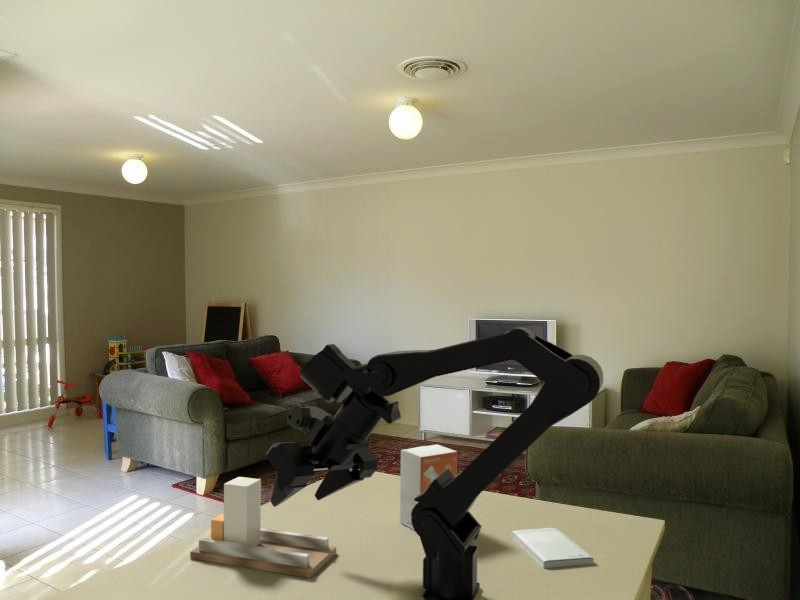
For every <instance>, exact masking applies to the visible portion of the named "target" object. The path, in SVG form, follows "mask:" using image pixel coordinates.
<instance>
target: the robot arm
mask: <svg viewBox="0 0 800 600" xmlns="http://www.w3.org/2000/svg"><path fill="white" fill-rule="evenodd" d="M507 361H515V362H517V363H518V364H520V365H521V366H522V367H523V368H525V369H526V370H527V371H529V372H530V373H531V374H533V376H534V377H536V378H537V379H539V380H540V381H542V382H544V383H543V385H542V386H541V387H540V389H539V391H538V392H537V394H536V396H535V397H534V398H533V399H532V401H531V402H530V405H529V406H528V407H527V408H526V409H525V410H523V412H522V413H521V414H519V416H518V417H516V419H515V420H514V421H513V422H511V423H510V425H509V426H507V427H506V428H505V429H504V430H503V431H502V432H501V434H499V435H498V436H497V437H496V438H495V439H494V440H493V441H492V442H491V443H490V444H488V446H486V448H485V449H484V450H483V451H481V452H480V453H479V455H478V456H476V457H475V459H474V460H473V461H472V462H471V463H469V464H468V465H467V466H466V467H465V468H464V469H463V470H462V471H460V472H457V475H455V476H453V475H452V473H451V472H450V470H449V469H446V470H445V471H444V472H443V473H442V474H440V475H439V476H438V477H437V478H436V479H434V481H433V482H432V483H431V484H430V486H429V487H427V488H426V489H425V490H424V491H423V492H422V493H420V494H419V495H418V496H417V497H416V498H415V499H414V500H415V501H417V502H418V503H417V504H416V505H415V506H414V508H413V509H412V512H411V522H412V525H413V528H414V530H413V531H415V533H416V535H417V536H419V540H420V541H421V542H420V543H421V545H422V548H423V551H424V554H425V556H424V557H423V559H422V589H423V590H425V591H424V592H423V594H422V600H475V599H476V597H477V595H478V592H479V590H480V585H481V583H480V582H478V546H476V545H473V544H474V542H475V541H476V540H477V539H478V537H479V534H480V532H481V529H482V525H481V523H480V522H478V520H477V519H476V518H475V517H474V516H473V515H472V513H471V512H470V510H471V508H472V507H473V505H474V504H475V502H476V500H477V499H478V497H479V496H480V494H481V493H482V492H483V491H485V489H487V487H488V486H489V485H491V484H492V483H493V482H494V481H495V480H496V479H497V478H498V477H499V476H501V474H502V473H503V472H504V471H506V469H507V468H509V467H510V465H512V464H513V463H514V462H515V461H516V460H517V459H518V458H519V457H520V456H521V455H522V454H523V453H524V452H525V451H527V450H528V449H529V447H531V446H532V445H533V444H534V443H535V442H536V441H537V440H538V439H539V438H540V437H541V436H542V435H544V433H545V432H547V431H548V429H550V428H551V427H553V426H554V425H556V424H558V423H559V422H561V421H563V420H564V419H566V418H568V417H569V416H572V415H573V414H574V413H576V412H578V411H579V410H581V409H582V408H584V407H586V405H588V404H590V403H591V402H592V401H594V400H595V398H596V397H597V396H598V394H599V392H600V391H601V389H602V387H603V384H604V371H603V369H602V367H601V365H600V364H599V362H598V361H597V360H595V359H594V358H593V357H591V356H588V355H586V354H572V353H570V352H569V351H567V350H566V349H564V348H562V347H560V346H558V345H556V344H554V343H552V342H551V341H548V340H546V339H544V338H542V337H541V336H539V335H537V334H536V333H534V332H533V331H532V330H530V328H527V327H515V328H511V329H509V330H507V331H506V332H502V333H499V334H494V335H489V336H486V337H482V338H477V339H474V340H469V341H464V342H462V343H458V344H457V343H456V344H453V345H449V346H444V347H440V348H436V349H418V350H417V349H413V350H412V349H411V350H397V351H396V350H395V351H391V352H385V353H381V354H376V355H375V356H373V357H371V358H369V360H368V362H367V363H364V364H360V365H355V363H353V362H352V361H351V360H350V358H348V357H347V356H346V355H345V354H344V353H343V351H341V349H340V348H339V347H338V346H337V345H336V344H334V343H331V344H326V345H325V346H324V348H323V349H322V350H321V351H319V352H317V353H316V354H314V356H312V358H311V359H309V360H307V361H306V362H305V364H304V365H303V367H302V368H301V370H300V374H299V377H300V378H301V379H302V380H303V381H304V382H305V383H306V384H308V386H310V388H311V389H313V390H314V392H316V394H318V395H319V396H320V397H321V398H322V399H323V400H324V401H325V402H326V403H329V404H330V403H332V402H335V401H336V403H341V402H343V403H342V404H341V406H340V407H339V409H338V410H337V412H336V413H335V414H333V415H332V414H330V413H329V412H327V411H325V410H324V409H322V408H320V407H318V406H313V405H305V404H301V403H296V404H294V405H293V407H292V408H291V409H290V410H289V411H288V413H287V417H286V421H287V424H288V425H290V427H291V428H293V429H294V430H298V431H300V432H301V433H303V434H304V435H306V437H305V439H304V441H305V442H306V443H307V445H308V446H309V447H312V449H311V452H312V453H306V452H305V450H304V449H303V447H302V446H301V445H300V443H299V442H298V441H297V442H293V441H291V442H273V444H272V445H271V446H270V448H269V450H268V451H267V452H266V455H265V457H266V459H268V461H269V463H270V464H271V466H272V467H273V468H274V471H275V472H276V477H275V481H274V486H273V490H272V493H271V497H270V503H271V505H272V506H273V508H275V507H277V506H280V505H281V504H282V503H284V502H286V501H287V500H288V499H290V498H292V497H293V496H295V494H297V493H299V492H300V491H302V490H303V489H305V488H306V487H307V485H306V484H307V483H309V481H311V480H312V478H313V477H314V474H315V473H314V472H315V471H323V470H328V471H327V473H326V475H325V476H324V477H323V479H322V480H321V483H320V484H319V486H318V488H317V489H316V491H315V493H314V497H315V499H316V500H317V501H320V500H323V499H325V498H327V497H328V496H329V497H330V496H331V495H333V494H335V493H338V492H339V491H342V490H343V489H345V488H348V487H350V486H352V485H354V484H357V483H359V482H362V481H363V480H365V479H368V478H371V477H372V476H373V475H374V473H375V472H376V471H377V469H378V459H377V458H376V457H375V455H374V454H373V453H372V451H370V449H369V448H368V447H369V446H370V445H371V442H370V441H369V439H368V438H369V436H370V435H371V434H372V433H373V431H374V430H375V428H376V427H377V426H378V424H380V422H381V421H382V420H384V421H385V422H386V423H387V424H388V425H391V424H393V423H395V422H396V421H399V420H400V419H401V418H402V415H401V411H400V408H399V401H397V400H395V401H390V400H389V399H387V397H390V396H393V395H395V394H398V393H401V392H403V391H407V390H408V389H410V388H411V389H412V387H415V386H418V385H421V384H423V383H425V382H427V381H430V380H431V379H433V378H435V377H436V378H437V377H440V376H445V375H449V374H453V373H459V372H464V371H466V370H472V369H476V368H477V369H478V368H480V367H485V366H489V365H494V364H499V363H502V362H507ZM343 400H344V401H343Z"/></svg>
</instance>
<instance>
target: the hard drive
mask: <svg viewBox="0 0 800 600" xmlns="http://www.w3.org/2000/svg"><path fill="white" fill-rule="evenodd" d="M510 535H511V538H512V539H513V540H514V541H515V542H516V543H517V544H518V545H519V546H520V547H521V548H522V549H523V550H524V552H527V554H528V555H529V556H530V557H531V558H532V559H534V561H536V562H537V564H538V565H540V566H541V568H542V569H550V568H561V567H571V566H584V565H593V564H594V563H595V562H594V557H592V555H590V553H587V552H586V550H584V549H583V548H581V547H580V546H579V545H577V544H576V543H575V542H574V541H573V540H572V539H570V538H569V537H568V536H567V535H565V534H564V533H563V532H562V531H560V530H559V529H558V528H556V527H544V528H530V529H529V528H528V529H527V528H525V529H519V530H518V529H517V530H512V531H511V532H510Z"/></svg>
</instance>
